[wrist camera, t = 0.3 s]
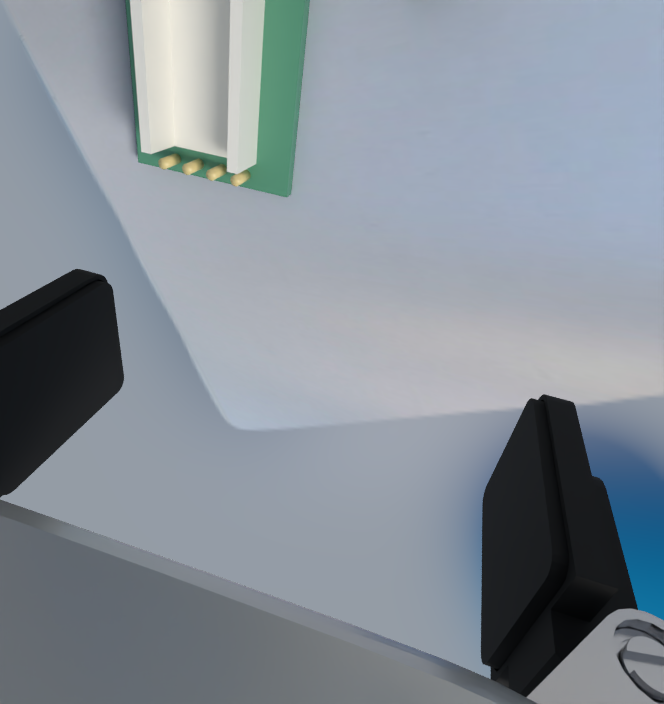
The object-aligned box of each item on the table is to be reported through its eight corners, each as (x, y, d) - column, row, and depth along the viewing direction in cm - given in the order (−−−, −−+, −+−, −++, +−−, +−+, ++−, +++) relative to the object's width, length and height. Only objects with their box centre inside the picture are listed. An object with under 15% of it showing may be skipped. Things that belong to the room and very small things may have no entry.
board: (124, -136, 31) (74, -160, 27) (320, -108, 29) (295, -129, 25) (145, 159, 41) (111, 171, 37) (290, 193, 39) (270, 210, 35)
